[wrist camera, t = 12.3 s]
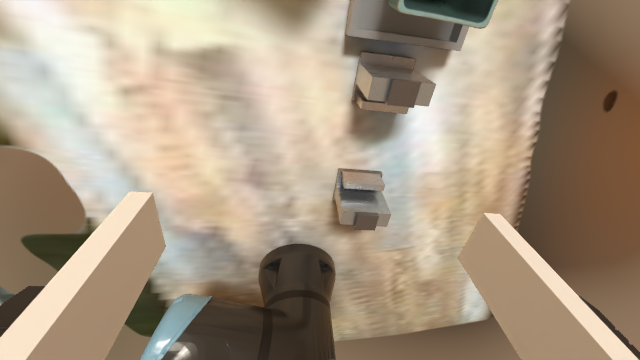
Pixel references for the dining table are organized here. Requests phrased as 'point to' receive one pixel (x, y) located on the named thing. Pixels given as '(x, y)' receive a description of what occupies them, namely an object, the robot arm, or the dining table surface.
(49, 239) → the dining table surface
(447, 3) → the flower pot
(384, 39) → the tray
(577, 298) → the robot arm
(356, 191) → the holder
